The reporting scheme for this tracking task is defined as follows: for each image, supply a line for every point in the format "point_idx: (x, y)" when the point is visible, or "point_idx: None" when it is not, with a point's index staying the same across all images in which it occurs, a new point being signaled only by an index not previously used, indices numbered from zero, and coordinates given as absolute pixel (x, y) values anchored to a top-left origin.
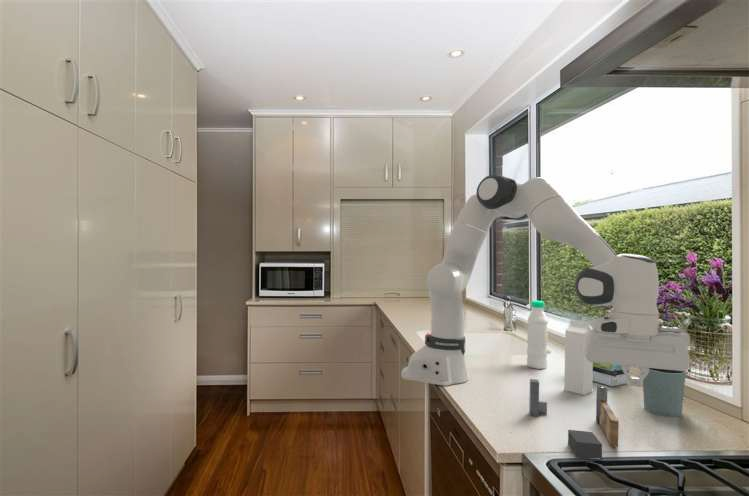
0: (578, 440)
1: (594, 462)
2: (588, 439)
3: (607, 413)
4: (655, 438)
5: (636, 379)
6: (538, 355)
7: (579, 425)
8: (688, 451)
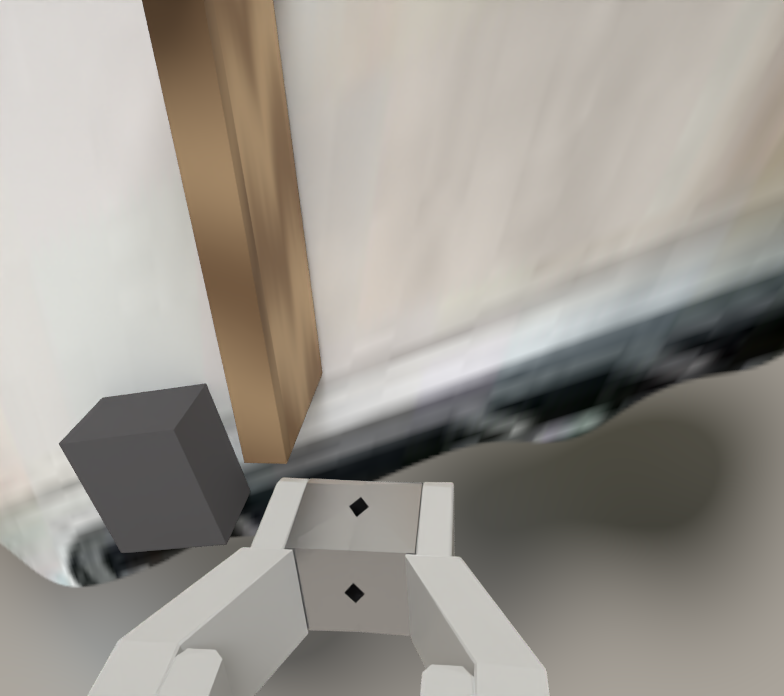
0: (127, 540)
1: None
2: (166, 517)
3: (219, 348)
4: (593, 98)
5: (372, 624)
6: None
7: (106, 88)
8: (728, 239)
